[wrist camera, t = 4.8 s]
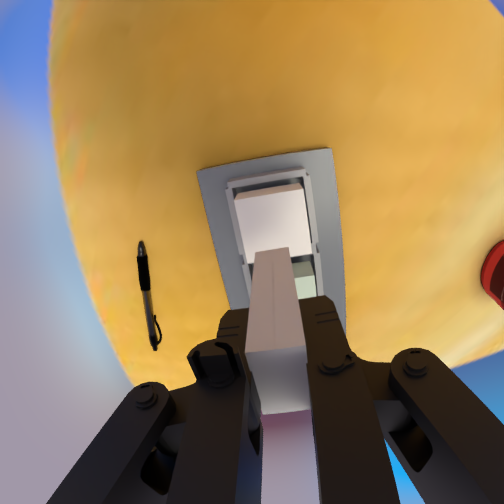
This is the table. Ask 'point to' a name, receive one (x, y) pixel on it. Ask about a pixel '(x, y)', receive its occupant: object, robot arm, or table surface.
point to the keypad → (318, 213)
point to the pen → (147, 296)
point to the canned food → (494, 274)
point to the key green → (304, 279)
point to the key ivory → (273, 220)
